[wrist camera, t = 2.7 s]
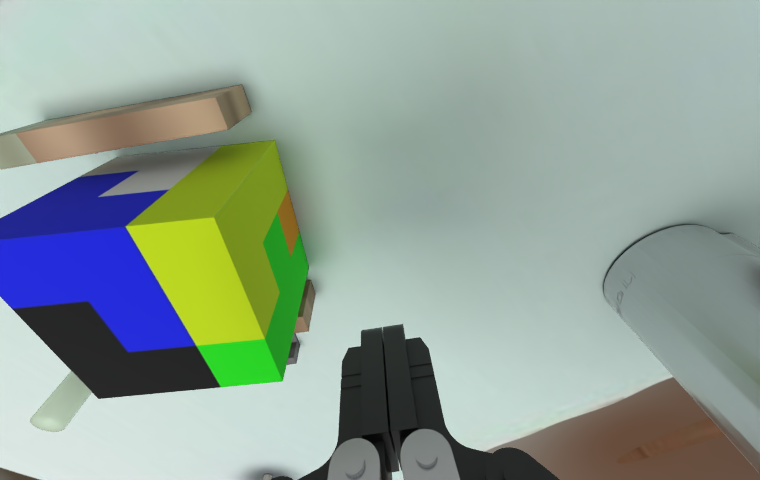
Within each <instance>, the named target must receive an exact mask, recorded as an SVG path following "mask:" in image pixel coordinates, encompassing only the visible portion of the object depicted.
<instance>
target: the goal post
mask: <svg viewBox="0 0 760 480" xmlns="http://www.w3.org/2000/svg"><path fill="white" fill-rule="evenodd" d="M91 393H92V391H91V390H90V389H89V388H88V387H87V386H86V385H85V384H84V383H83V382H82V381H81V380H80V379H79V378H78V377H77V376H76V375H75V374H74V373H73V372H72V371H71V372H70V373H69V374H68V375H67V377H66V378H65V379H64V380H63V381H62V382H61V384H60V385H59V386H58V387H57V388H56V390H55V391H54V392H53V393H52V394H51V395H50V397H49V398H48V399H47V400H46V401H45V402H44V404H43V405H42V406H41V407H40V408H39V409H38V411H37V412H36V413H35V414H34V415H33V416H32V418H31V419H30V422H31V424H32V425H34V426H35V427H37V428H39V429H41V430H45V431H50V432H59V431H62V430H64V429H65V427H66V426H67V425H68V423H69V422H70V421H71V419H72V418H73V417H74V415H75V414H76V413H77V411H78V410H79V409H80V407H81V406H82V405H83V403H84V402H85V401H86V399H87V398H88V397H89V395H90V394H91Z"/></svg>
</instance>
